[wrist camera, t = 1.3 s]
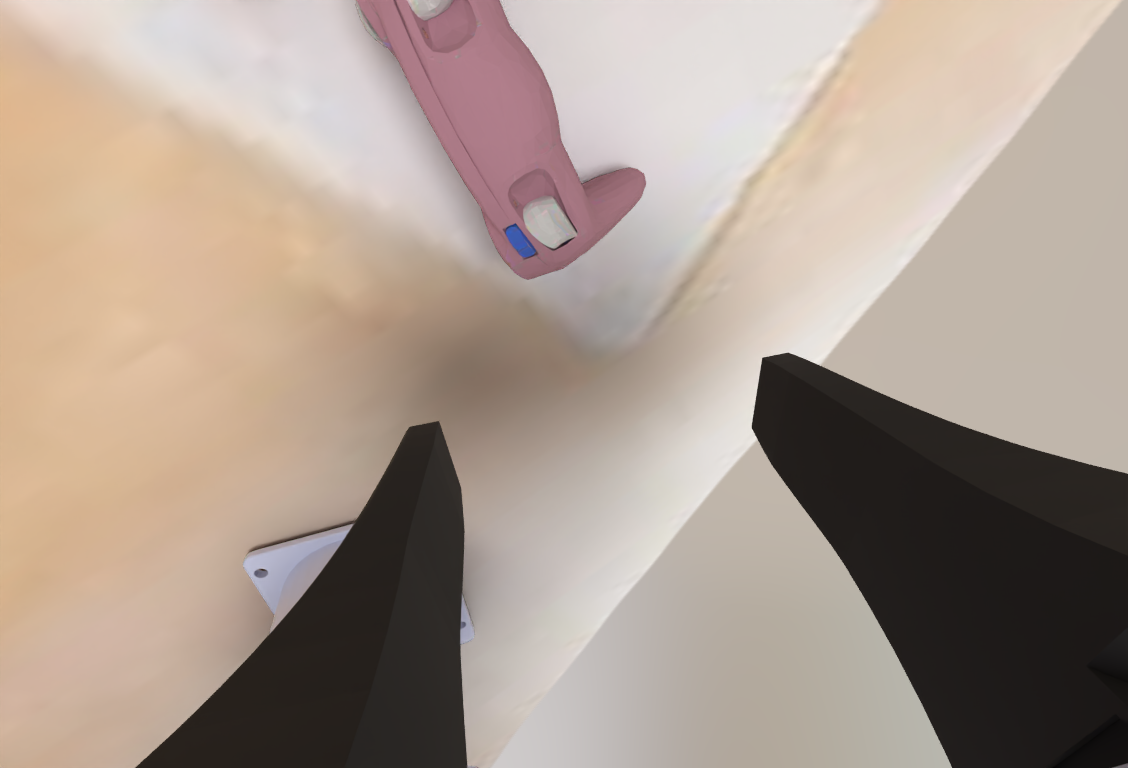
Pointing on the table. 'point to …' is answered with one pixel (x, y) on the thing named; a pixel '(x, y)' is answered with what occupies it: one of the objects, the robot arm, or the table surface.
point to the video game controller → (500, 129)
